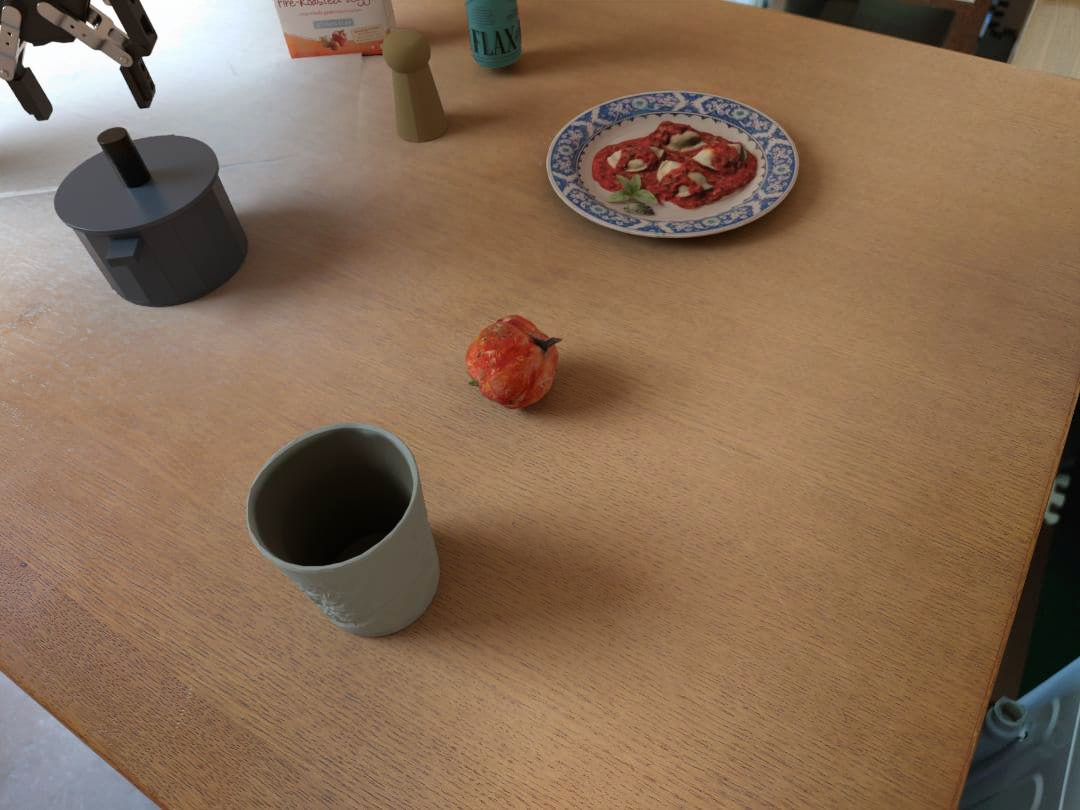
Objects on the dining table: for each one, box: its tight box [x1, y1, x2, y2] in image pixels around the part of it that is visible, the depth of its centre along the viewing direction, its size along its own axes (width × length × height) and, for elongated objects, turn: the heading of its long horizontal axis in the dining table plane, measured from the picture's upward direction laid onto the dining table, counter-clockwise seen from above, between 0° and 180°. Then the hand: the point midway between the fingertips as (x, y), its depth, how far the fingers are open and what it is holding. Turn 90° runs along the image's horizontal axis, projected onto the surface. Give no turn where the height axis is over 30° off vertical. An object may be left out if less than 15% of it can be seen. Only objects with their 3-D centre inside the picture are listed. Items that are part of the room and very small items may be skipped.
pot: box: [72, 133, 249, 308], centre depth 75 cm, size 14×19×9 cm
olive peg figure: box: [382, 27, 449, 143], centre depth 87 cm, size 6×6×11 cm
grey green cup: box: [245, 422, 441, 638], centre depth 50 cm, size 10×10×12 cm
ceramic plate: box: [545, 90, 800, 239], centre depth 81 cm, size 26×26×3 cm
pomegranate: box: [464, 314, 563, 410], centre depth 62 cm, size 7×7×10 cm
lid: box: [53, 126, 220, 235], centre depth 70 cm, size 15×15×6 cm
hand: (96, 109), depth 66 cm, fingers open, 8 cm apart
